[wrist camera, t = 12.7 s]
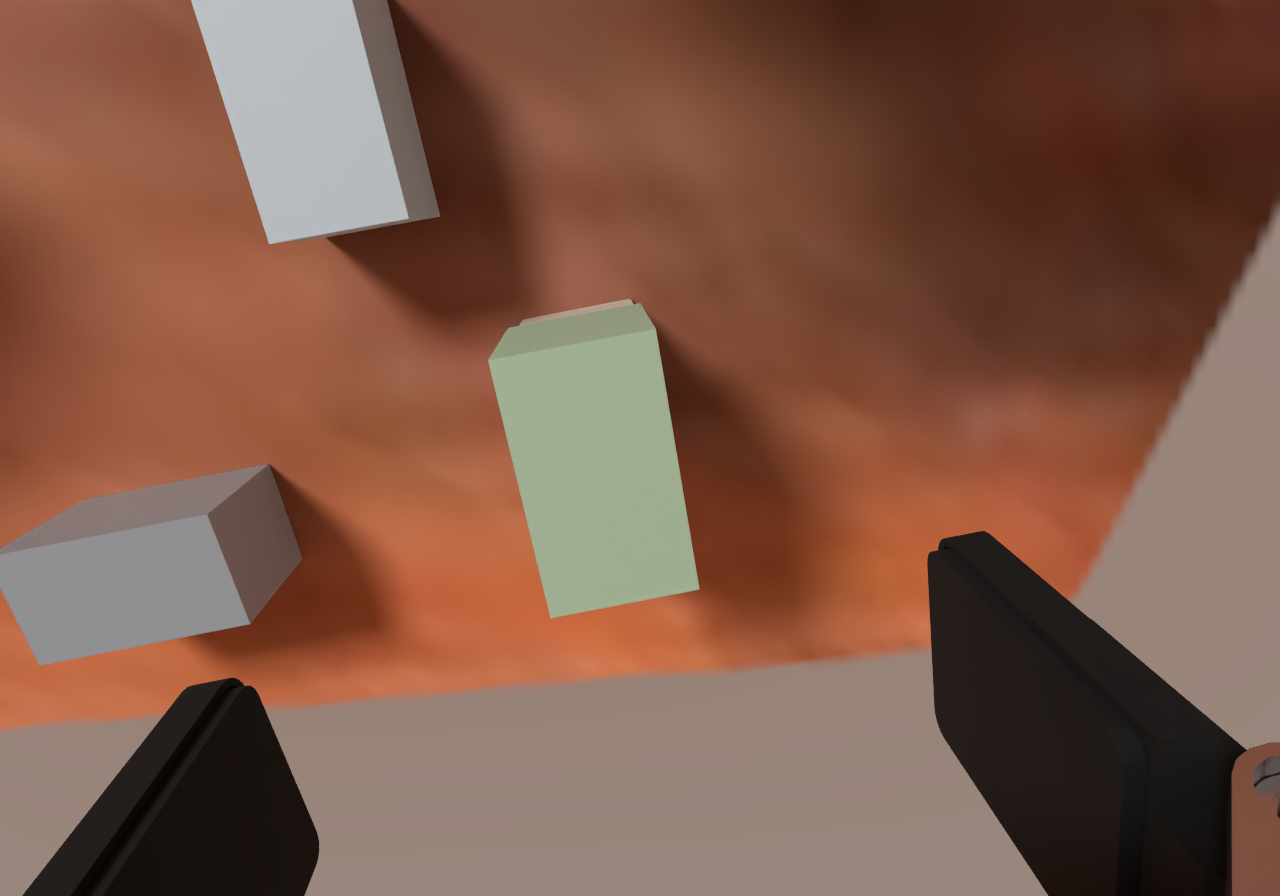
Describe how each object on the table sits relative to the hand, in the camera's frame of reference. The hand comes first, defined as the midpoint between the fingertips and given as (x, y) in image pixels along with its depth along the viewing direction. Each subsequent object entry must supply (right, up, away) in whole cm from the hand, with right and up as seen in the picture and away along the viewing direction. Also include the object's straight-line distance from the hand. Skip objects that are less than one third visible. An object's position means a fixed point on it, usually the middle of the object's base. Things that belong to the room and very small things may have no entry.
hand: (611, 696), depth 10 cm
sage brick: (-1, +4, +13) cm, 14 cm away
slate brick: (-17, 0, +19) cm, 25 cm away
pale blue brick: (-9, +14, +15) cm, 22 cm away
